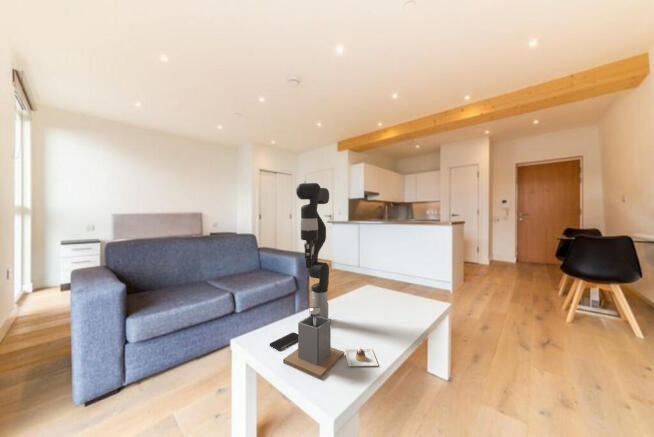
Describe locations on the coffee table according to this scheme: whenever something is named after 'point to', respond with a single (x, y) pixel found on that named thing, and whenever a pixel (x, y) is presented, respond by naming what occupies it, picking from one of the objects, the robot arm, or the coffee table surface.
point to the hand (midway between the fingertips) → (309, 265)
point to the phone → (285, 341)
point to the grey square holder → (314, 348)
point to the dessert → (361, 356)
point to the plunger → (314, 313)
